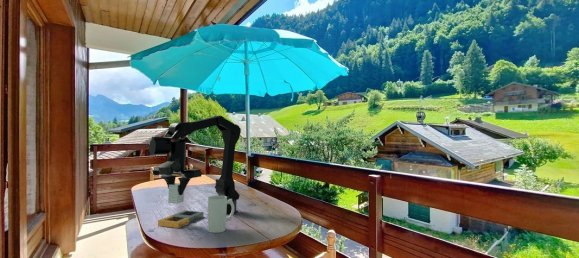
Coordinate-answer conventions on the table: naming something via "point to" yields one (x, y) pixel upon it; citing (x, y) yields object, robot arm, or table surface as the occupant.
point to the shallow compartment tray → (180, 219)
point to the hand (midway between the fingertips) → (176, 194)
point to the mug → (218, 213)
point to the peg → (175, 194)
